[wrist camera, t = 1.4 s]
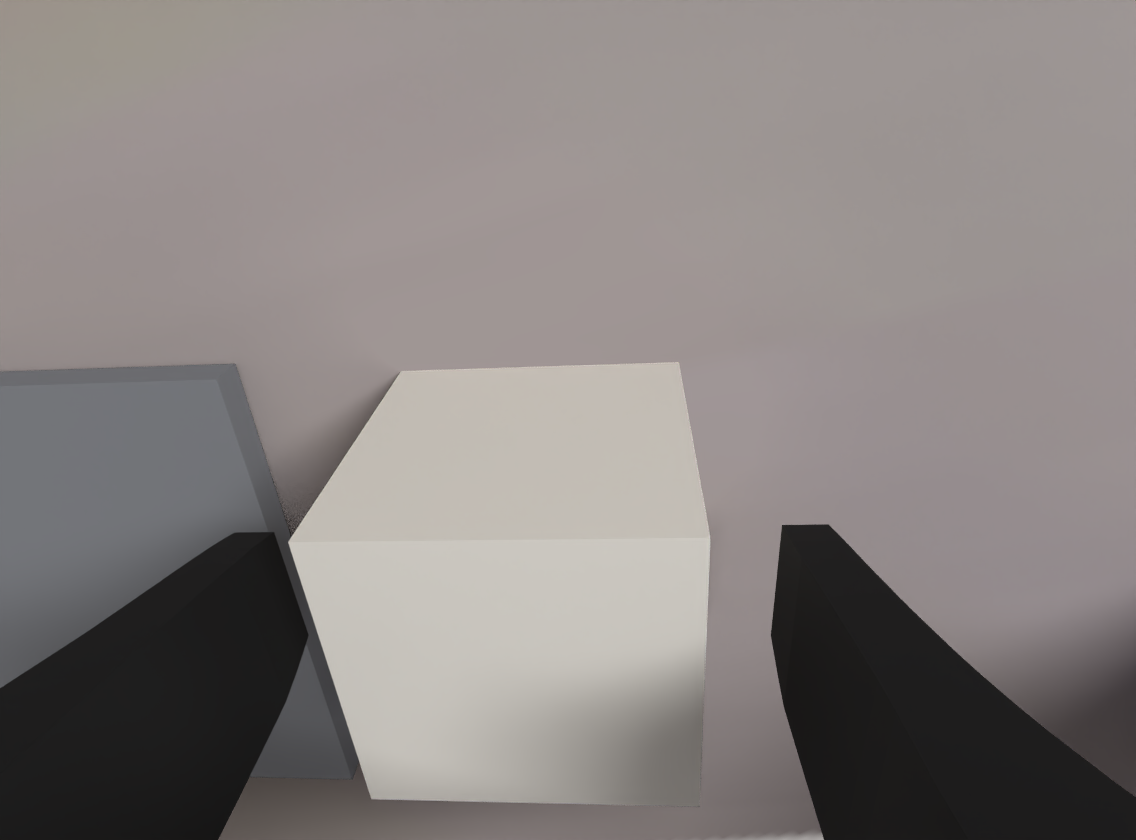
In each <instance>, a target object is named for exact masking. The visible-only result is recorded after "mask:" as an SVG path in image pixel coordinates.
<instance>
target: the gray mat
mask: <svg viewBox="0 0 1136 840" xmlns="http://www.w3.org/2000/svg"><path fill="white" fill-rule="evenodd" d="M235 532H274V533H275V536H276V539H277V542H278V545H279V548H280V551H281V554H282V557H283V560H284V563H285V566H286V569H287V572H288V575H289V578H290V581H291V584H292V587H293V590H294V593H295V596H296V599H297V602H298V605H299V608H300V611H301V614H302V617H303V620H304V623H305V626H306V629H307V632H308V635H309V636H308V639H307V642H306V645H305V648H304V652H303V655H302V658H301V661H300V664H299V667H298V670H297V673H296V676H295V679H294V681H293V684H292V687H291V690H290V692H289V695H288V698H287V701H286V703H285V705H284V707H283V709H282V711H281V713H280V716H279V718H278V720H277V722H276V724H275V726H274V728H273V730H272V732H271V734H270V736H269V738H268V740H267V742H266V744H265V746H264V748H263V751H262V753H261V755H260V757H259V759H258V761H257V763H256V765H255V767H254V769H253V771H252V773H251V775H250V777H267V778H310V779H353V776H354V774H355V771H356V768H357V765H358V763H359V759H358V756H357V753H356V750H355V747H354V744H353V741H352V738H351V735H350V732H349V728H348V725H347V722H346V719H345V716H344V713H343V710H342V707H341V704H340V701H339V698H338V695H337V691H336V688H335V685H334V682H333V679H332V676H331V673H330V670H329V667H328V664H327V661H326V658H325V654H324V651H323V648H322V645H321V642H320V639H319V636H318V633H317V630H316V627H315V624H314V621H313V618H312V614H311V611H310V608H309V605H308V602H307V599H306V596H305V593H304V590H303V587H302V584H301V581H300V577H299V574H298V571H297V568H296V565H295V562H294V559H293V556H292V553H291V550H290V547H289V544H288V542H289V540H290V539H291V536H290V532H289V529H288V526H287V523H286V520H285V517H284V514H283V511H282V508H281V504H280V501H279V498H278V495H277V492H276V489H275V486H274V483H273V480H272V476H271V473H270V470H269V467H268V464H267V461H266V458H265V455H264V452H263V448H262V445H261V442H260V439H259V436H258V433H257V430H256V427H255V424H254V420H253V417H252V414H251V411H250V408H249V405H248V402H247V399H246V395H245V392H244V389H243V386H242V383H241V380H240V377H239V374H238V371H237V367H236V364H216V365H186V366H157V367H127V368H98V369H68V370H39V371H9V372H0V688H1V687H3V686H4V685H6V684H7V683H9V682H10V681H12V680H13V679H15V678H17V677H18V676H20V675H21V674H23V673H24V672H26V671H27V670H29V669H30V668H32V667H34V666H35V665H37V664H38V663H40V662H41V661H43V660H44V659H46V658H47V657H49V656H50V655H52V654H54V653H55V652H57V651H58V650H60V649H61V648H63V647H64V646H66V645H67V644H69V643H71V642H72V641H74V640H75V639H77V638H78V637H80V636H81V635H83V634H84V633H86V632H87V631H89V630H90V629H92V628H93V627H95V626H96V625H98V624H99V623H101V622H102V621H103V620H105V619H106V618H108V617H109V616H111V615H112V614H114V613H115V612H116V611H118V610H119V609H121V608H122V607H124V606H125V605H127V604H128V603H130V602H131V601H132V600H134V599H135V598H137V597H138V596H140V595H141V594H143V593H144V592H145V591H147V590H148V589H150V588H151V587H153V586H154V585H156V584H157V583H158V582H160V581H161V580H163V579H164V578H166V577H167V576H168V575H170V574H171V573H173V572H174V571H176V570H177V569H179V568H180V567H181V566H183V565H184V564H186V563H187V562H189V561H190V560H192V559H193V558H195V557H196V556H198V555H199V554H201V553H202V552H204V551H205V550H207V549H208V548H210V547H211V546H213V545H214V544H216V543H218V542H219V541H221V540H223V539H224V538H226V537H228V536H229V535H231V534H233V533H235Z"/></svg>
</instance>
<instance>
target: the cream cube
mask: <svg viewBox="0 0 1136 840" xmlns="http://www.w3.org/2000/svg"><path fill="white" fill-rule="evenodd" d="M288 544H289V547H290V550H291V553H292V556H293V559H294V562H295V565H296V568H297V571H298V574H299V577H300V581H301V584H302V587H303V590H304V593H305V596H306V599H307V602H308V605H309V608H310V611H311V614H312V618H313V621H314V624H315V627H316V630H317V633H318V636H319V639H320V642H321V645H322V648H323V651H324V654H325V658H326V661H327V664H328V667H329V670H330V673H331V676H332V679H333V682H334V685H335V688H336V691H337V695H338V698H339V701H340V704H341V707H342V710H343V713H344V716H345V719H346V722H347V725H348V728H349V732H350V735H351V738H352V741H353V744H354V747H355V750H356V753H357V756H358V759H359V762H360V765H361V769H362V772H363V775H364V778H365V781H366V784H367V787H368V790H369V793H370V796H371V799H382V800H425V801H467V802H509V803H551V804H593V805H635V806H677V807H700V784H701V759H702V734H703V710H704V685H705V660H706V636H707V611H708V586H709V561H710V533H709V527H708V521H707V516H706V510H705V505H704V499H703V494H702V488H701V483H700V477H699V472H698V466H697V461H696V455H695V449H694V444H693V438H692V433H691V427H690V422H689V416H688V411H687V405H686V400H685V394H684V389H683V383H682V377H681V372H680V366H679V362H671V363H640V364H608V365H577V366H546V367H515V368H484V369H453V370H421V371H401V372H400V374H399V375H398V377H397V378H396V380H395V381H394V383H393V384H392V386H391V387H390V389H389V390H388V392H387V393H386V395H385V396H384V398H383V399H382V401H381V402H380V404H379V405H378V407H377V408H376V410H375V411H374V413H373V415H372V416H371V418H370V419H369V421H368V422H367V424H366V425H365V427H364V428H363V430H362V431H361V433H360V434H359V436H358V437H357V439H356V440H355V442H354V443H353V445H352V446H351V448H350V449H349V451H348V452H347V454H346V455H345V457H344V458H343V460H342V461H341V463H340V464H339V466H338V467H337V469H336V470H335V472H334V474H333V475H332V477H331V478H330V480H329V481H328V483H327V484H326V486H325V487H324V489H323V490H322V492H321V493H320V495H319V496H318V498H317V499H316V501H315V502H314V504H313V505H312V507H311V508H310V510H309V511H308V513H307V514H306V516H305V517H304V519H303V520H302V522H301V523H300V525H299V526H298V528H297V529H296V531H295V532H294V534H293V536H292V537H291V539H290V540H289V542H288Z"/></svg>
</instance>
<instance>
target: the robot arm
mask: <svg viewBox="0 0 1136 840" xmlns="http://www.w3.org/2000/svg"><path fill="white" fill-rule="evenodd" d="M308 636H309V635H308V632H307V629H306V626H305V623H304V620H303V617H302V614H301V611H300V608H299V605H298V602H297V599H296V596H295V593H294V590H293V587H292V584H291V581H290V578H289V575H288V572H287V569H286V566H285V563H284V560H283V557H282V554H281V551H280V548H279V545H278V542H277V539H276V536H275V533H274V532H235V533H233V534H231V535H229V536H228V537H226V538H224V539H223V540H221V541H219V542H218V543H216V544H214V545H213V546H211V547H210V548H208V549H207V550H205V551H204V552H202V553H201V554H199V555H198V556H196V557H195V558H193V559H192V560H190V561H189V562H187V563H186V564H184V565H183V566H181V567H180V568H179V569H177V570H176V571H174V572H173V573H171V574H170V575H168V576H167V577H166V578H164V579H163V580H161V581H160V582H158V583H157V584H156V585H154V586H153V587H151V588H150V589H148V590H147V591H145V592H144V593H143V594H141V595H140V596H138V597H137V598H135V599H134V600H132V601H131V602H130V603H128V604H127V605H125V606H124V607H122V608H121V609H119V610H118V611H116V612H115V613H114V614H112V615H111V616H109V617H108V618H106V619H105V620H103V621H102V622H101V623H99V624H98V625H96V626H95V627H93V628H92V629H90V630H89V631H87V632H86V633H84V634H83V635H81V636H80V637H78V638H77V639H75V640H74V641H72V642H71V643H69V644H67V645H66V646H64V647H63V648H61V649H60V650H58V651H57V652H55V653H54V654H52V655H50V656H49V657H47V658H46V659H44V660H43V661H41V662H40V663H38V664H37V665H35V666H34V667H32V668H30V669H29V670H27V671H26V672H24V673H23V674H21V675H20V676H18V677H17V678H15V679H13V680H12V681H10V682H9V683H7V684H6V685H4V686H3V687H1V688H0V840H218V839H219V837H220V835H221V833H222V831H223V829H224V827H225V825H226V823H227V821H228V819H229V817H230V815H231V813H232V811H233V809H234V807H235V805H236V803H237V801H238V799H239V797H240V795H241V793H242V791H243V789H244V787H245V785H246V783H247V781H248V779H249V777H250V775H251V773H252V771H253V769H254V767H255V765H256V763H257V761H258V759H259V757H260V755H261V753H262V751H263V748H264V746H265V744H266V742H267V740H268V738H269V736H270V734H271V732H272V730H273V728H274V726H275V724H276V722H277V720H278V718H279V716H280V713H281V711H282V709H283V707H284V705H285V703H286V701H287V698H288V695H289V692H290V690H291V687H292V684H293V681H294V679H295V676H296V673H297V670H298V667H299V664H300V661H301V658H302V655H303V652H304V648H305V645H306V642H307V639H308ZM771 638H772V644H773V650H774V656H775V661H776V667H777V673H778V678H779V683H780V689H781V694H782V699H783V705H784V708H785V712H786V715H787V719H788V722H789V725H790V729H791V732H792V735H793V739H794V742H795V745H796V749H797V752H798V755H799V759H800V762H801V765H802V769H803V772H804V775H805V779H806V782H807V785H808V788H809V792H810V795H811V798H812V801H813V805H814V808H815V811H816V815H817V818H818V821H819V824H820V828H821V831H822V834H823V837H824V840H1136V797H1134V796H1133V795H1132V794H1130V793H1129V792H1128V791H1126V790H1125V789H1123V788H1122V787H1121V786H1119V785H1118V784H1117V783H1115V782H1114V781H1112V780H1111V779H1110V778H1109V777H1107V776H1106V775H1105V774H1103V773H1102V772H1101V771H1099V770H1098V769H1097V768H1095V767H1094V766H1093V765H1092V764H1090V763H1089V762H1088V761H1086V760H1085V759H1084V758H1082V757H1081V756H1080V755H1079V754H1077V753H1076V752H1075V751H1073V750H1072V749H1071V748H1069V747H1068V746H1067V745H1065V744H1064V743H1063V742H1062V741H1060V740H1059V739H1058V738H1056V737H1055V736H1054V735H1052V734H1051V733H1050V732H1049V731H1047V730H1046V729H1045V728H1044V727H1042V726H1041V725H1040V724H1039V723H1037V722H1036V721H1035V720H1034V719H1033V718H1031V717H1030V716H1029V715H1028V714H1026V713H1025V712H1024V711H1023V710H1022V709H1020V708H1019V707H1018V706H1017V705H1015V704H1014V703H1013V702H1012V701H1011V700H1010V699H1009V698H1007V697H1006V696H1005V695H1004V694H1003V693H1002V692H1000V691H999V690H998V689H997V688H996V687H995V686H994V685H992V684H991V683H990V682H989V681H988V680H987V679H985V678H984V677H983V676H982V675H981V674H980V673H979V672H977V671H976V670H975V669H974V668H973V667H972V666H971V665H970V664H968V663H967V662H966V661H965V660H964V659H963V658H962V657H961V656H960V655H959V654H958V653H956V652H955V651H954V650H953V649H952V648H951V647H950V646H949V645H948V644H947V643H946V642H945V641H944V640H943V639H942V638H941V637H940V636H939V635H937V634H936V633H935V632H934V631H933V630H932V629H931V628H930V627H929V626H928V625H927V624H926V623H925V622H924V621H923V620H922V619H921V618H920V617H919V616H918V615H917V614H916V613H915V612H913V611H912V610H911V609H910V608H909V607H908V606H907V605H906V604H905V603H904V602H903V601H902V600H901V599H900V598H899V597H898V596H897V595H896V594H895V593H894V592H893V591H892V589H891V588H890V587H889V586H888V585H887V584H886V583H885V582H884V581H883V580H882V579H881V578H880V577H879V576H878V575H877V574H876V573H875V572H874V571H873V570H872V569H871V568H870V567H869V566H868V565H867V564H866V563H865V562H864V561H863V560H862V559H861V557H860V556H859V555H858V554H857V553H856V552H855V551H854V550H853V549H852V548H851V547H850V546H849V545H848V544H847V543H846V542H845V541H844V540H843V539H842V538H841V537H840V536H839V535H838V534H837V533H836V531H834V530H833V529H832V528H831V527H830V526H829V525H782V532H781V542H780V552H779V561H778V571H777V581H776V591H775V601H774V611H773V620H772V630H771Z"/></svg>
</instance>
